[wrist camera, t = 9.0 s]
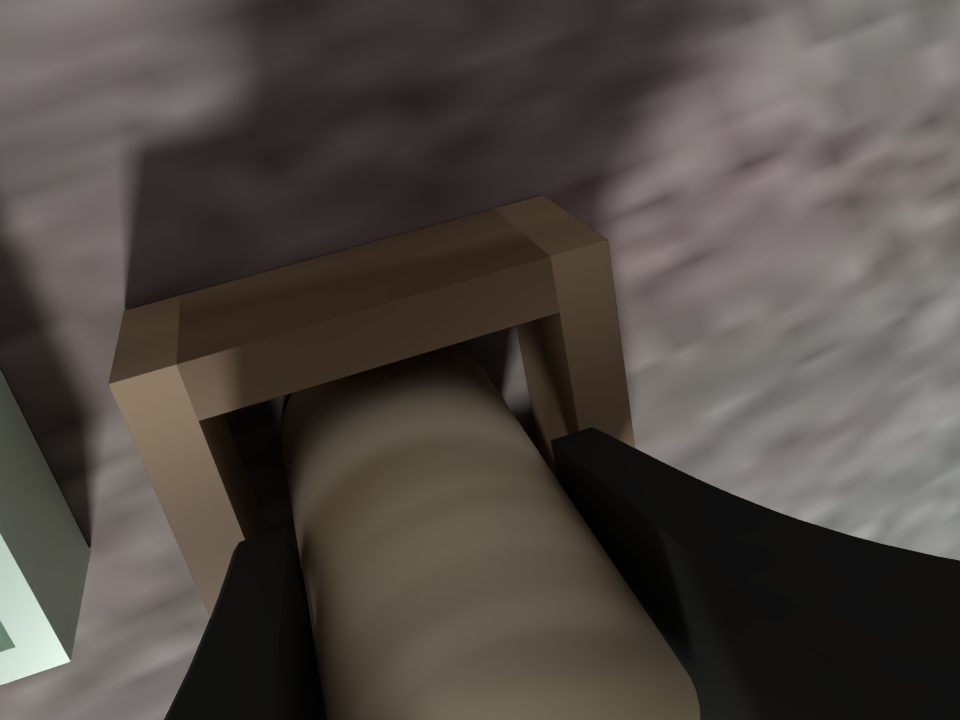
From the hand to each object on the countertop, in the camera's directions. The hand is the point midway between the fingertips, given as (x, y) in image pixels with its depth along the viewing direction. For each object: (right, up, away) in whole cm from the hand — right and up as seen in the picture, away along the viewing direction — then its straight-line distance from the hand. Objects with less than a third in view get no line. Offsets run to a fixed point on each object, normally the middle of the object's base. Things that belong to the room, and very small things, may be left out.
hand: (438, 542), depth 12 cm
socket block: (-1, +1, +3) cm, 3 cm away
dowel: (-1, +1, +3) cm, 3 cm away
